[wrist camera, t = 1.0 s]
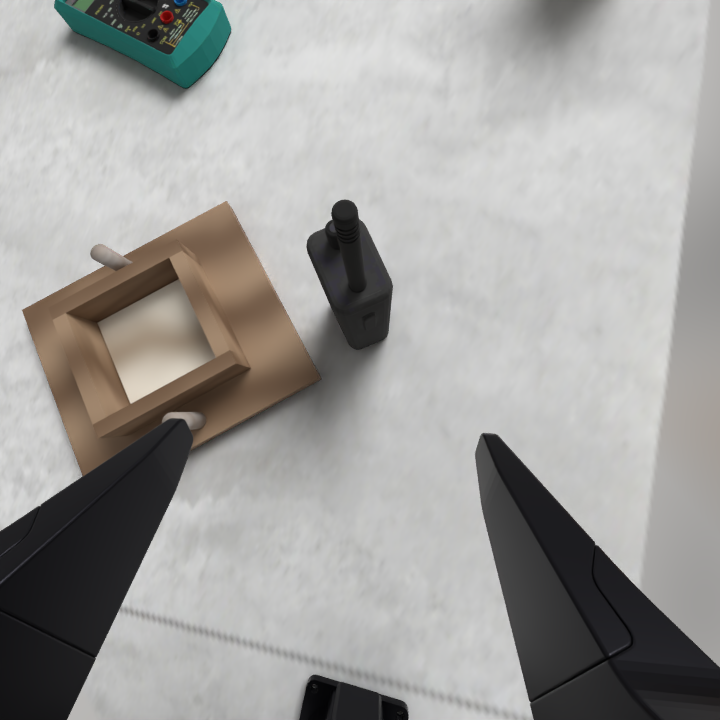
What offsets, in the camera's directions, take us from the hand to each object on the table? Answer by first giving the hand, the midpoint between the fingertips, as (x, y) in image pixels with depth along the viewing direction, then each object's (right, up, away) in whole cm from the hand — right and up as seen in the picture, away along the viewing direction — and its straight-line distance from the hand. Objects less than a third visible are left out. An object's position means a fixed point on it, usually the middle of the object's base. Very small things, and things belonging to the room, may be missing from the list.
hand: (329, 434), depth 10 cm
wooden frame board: (-14, +3, +15) cm, 21 cm away
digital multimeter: (-18, +33, +21) cm, 43 cm away
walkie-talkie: (+1, +5, +15) cm, 16 cm away
